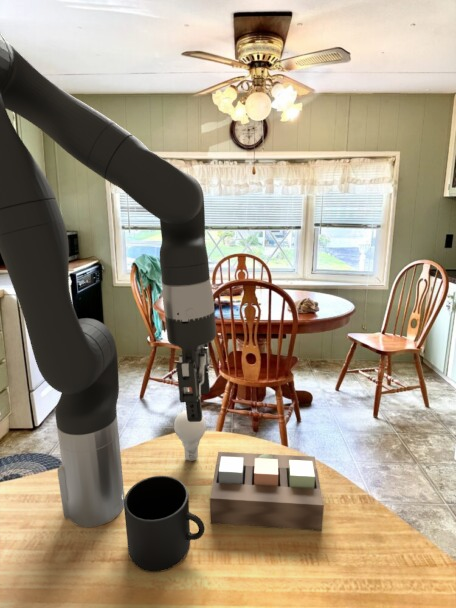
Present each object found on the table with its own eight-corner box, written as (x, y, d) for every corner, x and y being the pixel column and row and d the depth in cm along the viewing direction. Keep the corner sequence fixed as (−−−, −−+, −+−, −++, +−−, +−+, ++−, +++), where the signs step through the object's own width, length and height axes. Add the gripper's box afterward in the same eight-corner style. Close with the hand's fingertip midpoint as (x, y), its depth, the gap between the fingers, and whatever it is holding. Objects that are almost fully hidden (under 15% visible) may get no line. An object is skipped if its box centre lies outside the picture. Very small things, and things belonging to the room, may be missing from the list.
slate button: (219, 493, 69) (218, 471, 68) (221, 477, 73) (221, 456, 72) (242, 494, 69) (242, 472, 68) (243, 478, 73) (243, 457, 71)
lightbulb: (206, 469, 79) (204, 420, 76) (173, 469, 79) (171, 420, 76) (208, 449, 85) (206, 402, 82) (178, 449, 85) (175, 402, 82)
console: (210, 523, 66) (209, 496, 65) (218, 474, 78) (218, 450, 76) (321, 530, 65) (323, 503, 63) (313, 479, 76) (314, 455, 75)
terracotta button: (254, 495, 69) (254, 473, 67) (254, 479, 72) (254, 458, 71) (277, 497, 68) (278, 474, 67) (276, 480, 72) (277, 459, 71)
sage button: (289, 497, 68) (290, 475, 67) (288, 481, 72) (289, 459, 71) (313, 499, 68) (314, 476, 67) (310, 482, 72) (312, 461, 70)
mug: (195, 583, 56) (193, 530, 54) (116, 566, 59) (111, 515, 56) (213, 529, 65) (212, 482, 62) (144, 516, 68) (140, 471, 65)
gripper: (175, 299, 68) (185, 386, 72) (152, 326, 54) (166, 431, 59) (219, 296, 67) (226, 385, 71) (207, 323, 53) (217, 431, 58)
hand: (199, 406), depth 65 cm, fingers open, 8 cm apart
